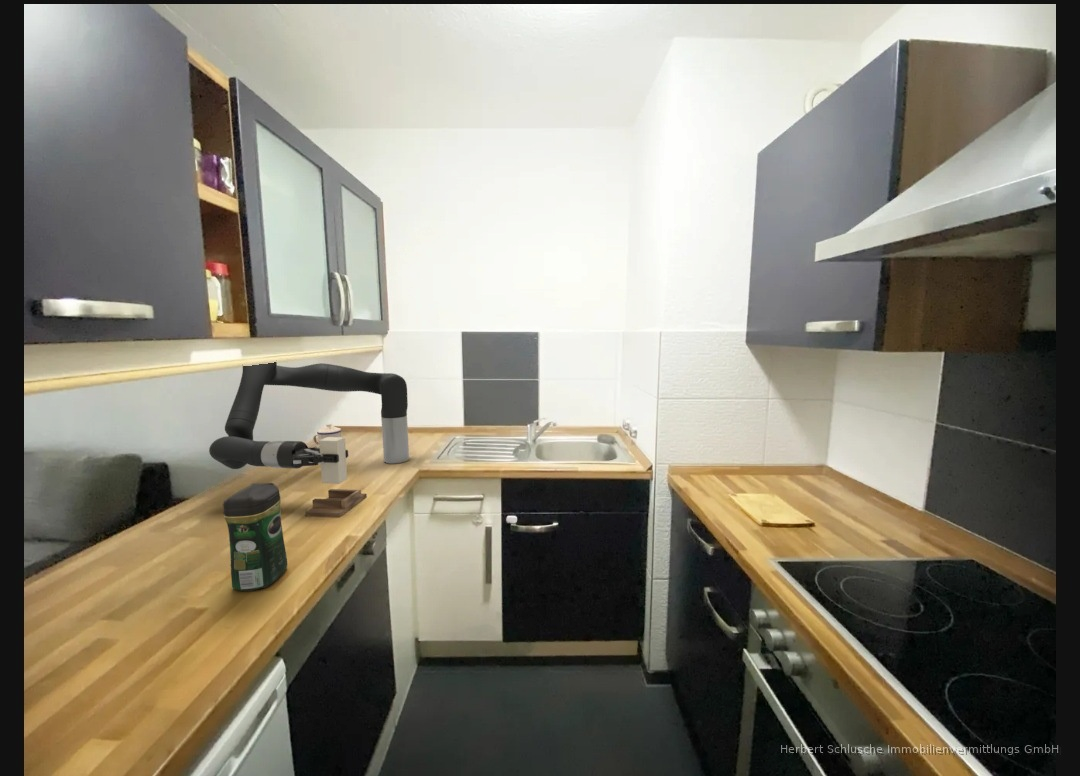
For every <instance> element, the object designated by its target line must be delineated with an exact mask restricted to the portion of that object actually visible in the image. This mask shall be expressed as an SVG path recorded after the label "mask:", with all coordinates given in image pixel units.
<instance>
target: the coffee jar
mask: <svg viewBox="0 0 1080 776" xmlns="http://www.w3.org/2000/svg"><path fill="white" fill-rule="evenodd" d="M222 506H223V517H224V521H225V522H226V525H227V529H228V539H229V541H228V542H229V555H230V576H231V579H230V580H231V587H232V588H233V589H234V590H237V591H241V592H252V591H253V590H254V591H256V590H259V589H264V588H267V587H268V586H270V585H272V584H273V583H274V582H276V581H277V580H278V579H279V578H280V577H281V576H282V574H283V573H284V572H285V571H286V570H287V567H288V558H287V551H286V545H285V539H284V532H283V526H282V518H281V517H282V516H281V495H280V490H279V487H278V486H277V485H276V484H274V483H273V482H262V483H261V482H258V483H257V482H255V483H252V484H251V485H248V486H247V487H245V488H243V489H241V490H239V491H238V492H236V493H234V494H233V495H231V496H229V497H227V498H226V499H224V501H223V504H222Z"/></svg>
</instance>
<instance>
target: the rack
mask: <svg viewBox="0 0 1080 776" xmlns="http://www.w3.org/2000/svg"><path fill="white" fill-rule="evenodd" d="M327 492H328V497H327V498H314V499H312V501H311V502H312V507H311V508H310V509H308V510H306V511H304V513H305V517H306V516H307V517H327V518H329V517H331V518H341V516H343V515H344V514H346V513H347V512H349V511H350V510H351V509H352V508H354V507H355V506H356V505H359V503H361V502H362V501H363V500H365V499H366V498H367V497H368V496H367V494H368V493H362V490H361V489H347V488H346V489H344V488H343V489H341V488H337V489H335V488H330V489H328V491H327Z"/></svg>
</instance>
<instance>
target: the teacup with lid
mask: <svg viewBox="0 0 1080 776" xmlns="http://www.w3.org/2000/svg"><path fill="white" fill-rule="evenodd" d="M327 437H342V428H340V427H336V426H335V425H333V424H332V423H326V426H323V427H322V428H320V429H318V430H317V432H316V434H314V435H313V437H312V442H313V443H314V444H315V445H316V446H317V447H320V445H319V440H322V439H324V438H327ZM317 439H318V441H317Z"/></svg>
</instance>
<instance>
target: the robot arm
mask: <svg viewBox="0 0 1080 776" xmlns="http://www.w3.org/2000/svg"><path fill="white" fill-rule="evenodd" d="M277 364H278V363H277V362H274V363H268V364H259V365H252V366H243V365H242V372H241V373H242V374H241V378H240V383H239V386H238V389H237V392H236V395H235V397H234V400H233V403H232V405H231V408H230V411H229V413H228V415H227V416H228V417H227V420H226V422H225V425H224V431H225V433H226V435H227V436H223V437H219V438H217V439H215V440H214V441H212V443H211V444H210V445H209V451H208V452H209V455H210V456H211V458H213V459H214V460H215V461H217V462H218V463H220V464H222V465H223V466H225V467H227V468H229V469H231V470H239V469H242V468H244V467H245V466H246V465H250V466H252V467H253V466H254V467H265V468H266V467H269V468H274V469H278V468H279V469H301V468H302V467H308V466H309V467H310V466H314V467H315V466H319V464H320V465H321V464H323V463H325V462H326V463H337V462H339V455H338V454H323V453H320V447H319V446H308V445H307V443H305V442H304V441H299V440H298V441H297V440H275V441H274V440H273V441H269V440H268V441H267V440H260V441H259V440H254V429H255V425H256V422H257V420H258V415H259V411H260V407H261V401H262V396H263V393H264V392H263V391H264V388H265V386H285V387H286V386H287V387H288V386H289V387H299V388H306V389H315V390H322V391H328V392H329V391H330V392H364V393H365V392H366V393H372V394H376V395H377V394H378V395H380V397H381V410H380V415H381V416H380V417H381V419H380V420H381V435H382V452H383V453H382V454H383V455H382V456H383V462H384V463H385V462H386V464H401V463H405V462H407V461H409V460H410V452H409V451H410V445H409V432H408V431H409V430H408V428H409V426H408V416H407V415H408V407H409V404H408V403H409V401H408V386H407V385H408V384H407V381H406V380H405V378H404V377H402V376H401V375H399V374H396V373H393V372H391V373H385V372H370V371H363V370H359V369H357V368H356V369H355V368H351V367H349V366H348V367H347V366H342V365H337V364H336V365H335V364H332V363H313V364H310V365H302V366H299V367H297V366H296V367H289V366H282V365H277ZM348 457H349V450H348V449H346V459H347V458H348Z"/></svg>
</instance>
